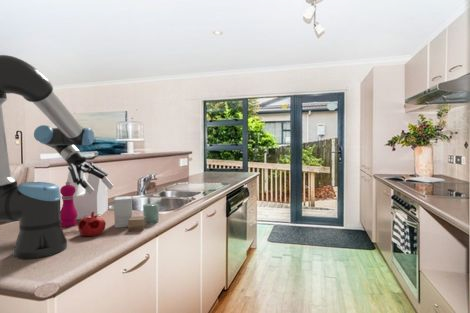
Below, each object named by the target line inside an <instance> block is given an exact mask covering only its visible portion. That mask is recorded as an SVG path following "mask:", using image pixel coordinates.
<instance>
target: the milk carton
mask: <svg viewBox="0 0 470 313" xmlns="http://www.w3.org/2000/svg"><path fill="white" fill-rule="evenodd" d="M97 167H98V168H100V169H101V170H103V171H104V168H103V167H102V166H97ZM89 171H90V170H89ZM87 174H88V175H87V176H86V173H83V180H86V181H87V182H88V183H89V184H90V185H91V187H92V188H93V189H94V191H93V193H92V194H89V193H88V192H87V191H86V190H85V189H84V188H83V187H82V186H81V185H80V184H79V185H77V184H76V183H77V182H76V183H74V182H73V179H72V176H71V173H70V170H69V169H68V175H67V180H66V182H70V185H72V186H74V187H75V190H76V192H75V193H74V199H73V203H74V207H75V209H76V211H77V215H78V216H77V218H76V219H75V220H81V219H83V218H84V216H85V217H87V216H90V215H91V214H92V212H94V216H95V215H98V214H100V215H98V216H100V217H101V216H102V215H103V214H104V213H106V212H107V211H108V210H109V207H108V206H109V203H108V202H109V200H108V198H109V197H108V196H109V193H108V187H107V186H106V185H105V184H104V183H103V182H102V181H101V180H102V179H100V178H99V177H97V176H95V175H93V174H91V173H90V174H89V173H87ZM86 177H87V178H86ZM98 216H97V217H98Z"/></svg>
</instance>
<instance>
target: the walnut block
mask: <svg viewBox="0 0 470 313" xmlns="http://www.w3.org/2000/svg"><path fill="white" fill-rule="evenodd" d="M146 225H147V224H146V216H143V215H139V216H138V215H136V216H135V215H134V216H133V215H132V217H131V218H130V219H129V220H128V228H127V229H128V232H142V231H141V230H143V231H144V230H145V229H146V228H147V226H146ZM144 228H145V229H144Z"/></svg>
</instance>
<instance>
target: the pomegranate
mask: <svg viewBox="0 0 470 313" xmlns="http://www.w3.org/2000/svg"><path fill="white" fill-rule="evenodd" d="M98 215H100V214H98ZM98 215H95V216H94V212H92V214H91V215H90V216H87V217H85V216H84V218H83V219H79V222H78V224H77V228H78V231H79V235H81V236H83V237H96V236H100V235H101V234H102V233H103V232H105V229H106V224H107V223H106V221H105V220H104V219H103V218H101V216H98ZM97 216H98V217H97Z"/></svg>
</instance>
